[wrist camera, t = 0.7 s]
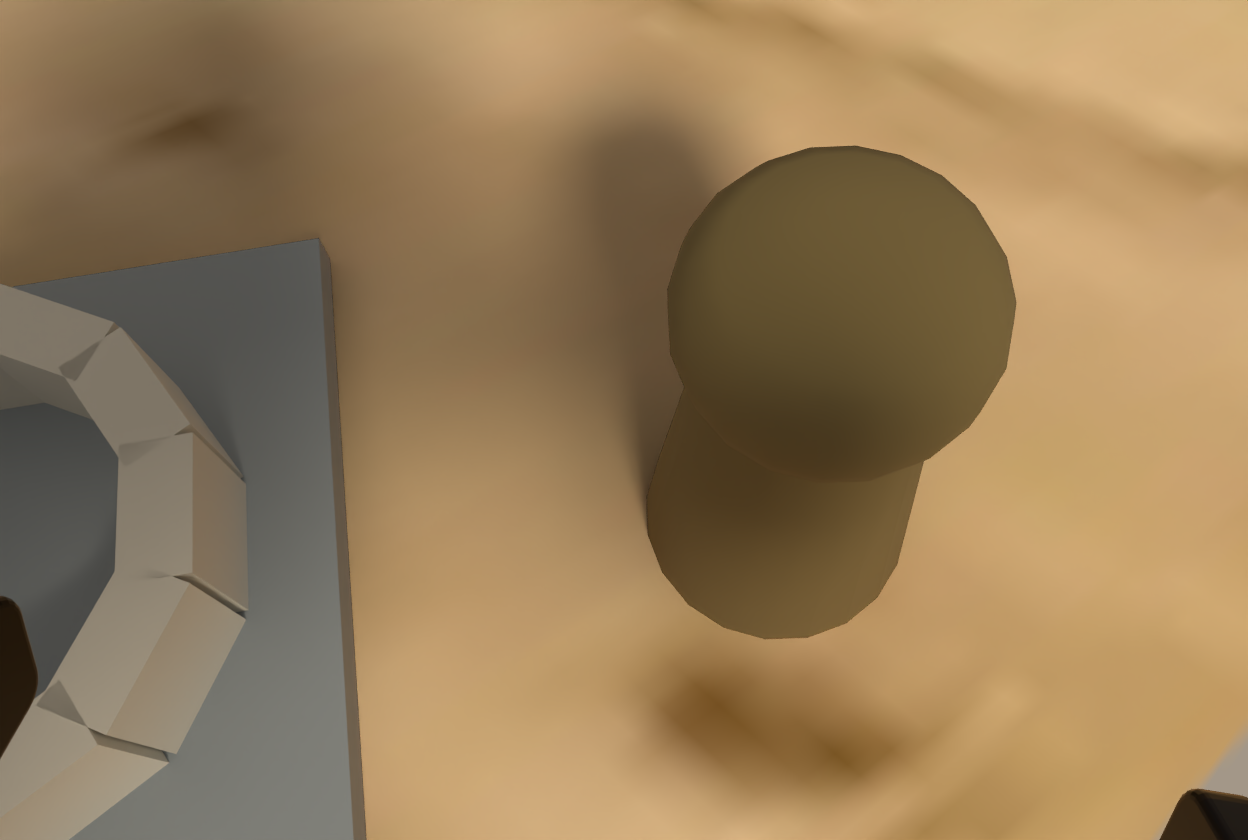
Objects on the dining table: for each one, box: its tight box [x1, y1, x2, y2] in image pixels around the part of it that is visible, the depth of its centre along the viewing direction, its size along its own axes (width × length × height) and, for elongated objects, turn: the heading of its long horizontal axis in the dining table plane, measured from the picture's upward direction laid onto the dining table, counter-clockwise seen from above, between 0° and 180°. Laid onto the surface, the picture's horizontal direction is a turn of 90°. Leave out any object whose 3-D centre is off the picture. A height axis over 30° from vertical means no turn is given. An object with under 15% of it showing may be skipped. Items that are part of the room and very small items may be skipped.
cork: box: [647, 146, 1016, 639], centre depth 19 cm, size 6×6×11 cm
